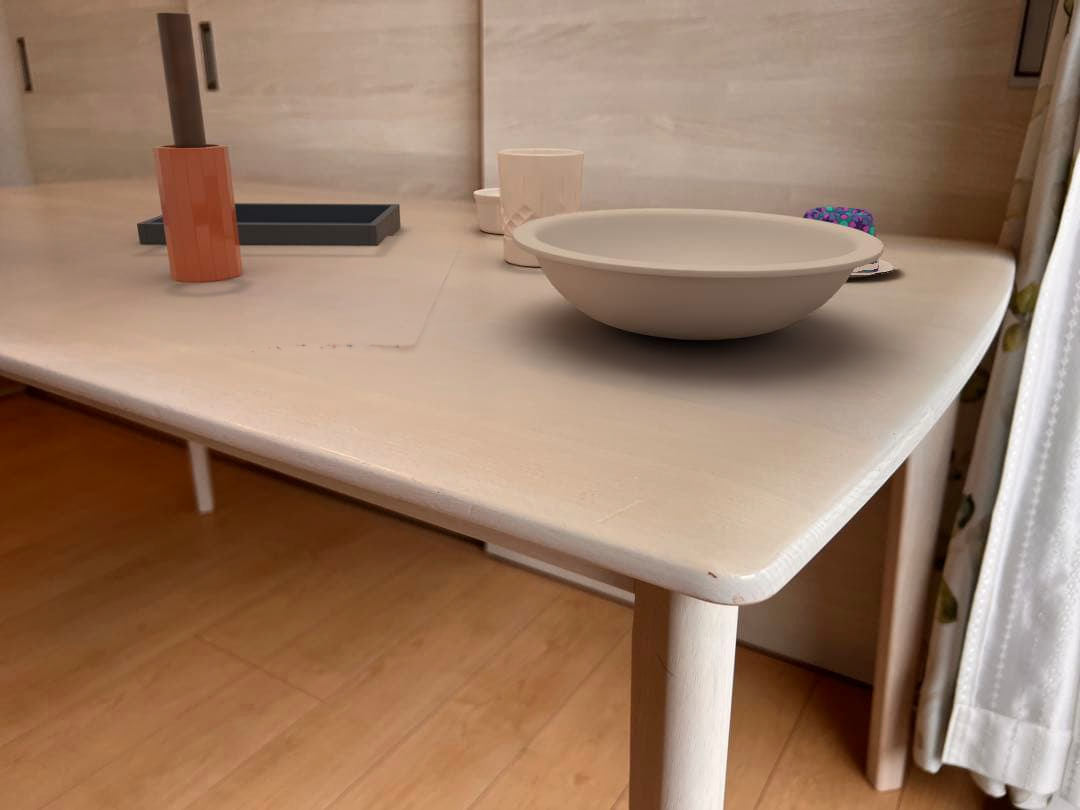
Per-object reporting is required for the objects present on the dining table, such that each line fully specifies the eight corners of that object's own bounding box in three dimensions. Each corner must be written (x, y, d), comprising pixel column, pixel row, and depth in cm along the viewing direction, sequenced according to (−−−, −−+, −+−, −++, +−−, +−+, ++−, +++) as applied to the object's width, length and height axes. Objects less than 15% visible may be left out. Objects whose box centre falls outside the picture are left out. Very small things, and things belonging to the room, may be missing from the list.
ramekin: (458, 228, 99) (457, 190, 97) (516, 221, 104) (516, 185, 103) (509, 239, 93) (509, 198, 91) (567, 230, 98) (568, 191, 97)
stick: (187, 277, 71) (150, 12, 64) (198, 271, 73) (163, 14, 66) (216, 277, 71) (182, 12, 64) (226, 271, 73) (194, 15, 66)
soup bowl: (663, 415, 44) (670, 288, 42) (452, 313, 63) (449, 222, 61) (948, 345, 56) (967, 244, 53) (699, 277, 75) (704, 200, 72)
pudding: (741, 259, 83) (746, 204, 81) (846, 253, 86) (853, 200, 84) (815, 286, 72) (823, 223, 70) (932, 277, 76) (942, 217, 74)
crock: (161, 289, 70) (140, 148, 66) (187, 274, 75) (169, 143, 71) (230, 289, 70) (213, 148, 66) (251, 274, 75) (237, 143, 71)
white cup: (484, 264, 80) (483, 152, 76) (518, 250, 87) (517, 147, 83) (564, 271, 77) (566, 156, 73) (592, 256, 84) (595, 150, 80)
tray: (140, 250, 85) (136, 223, 84) (198, 225, 100) (195, 202, 99) (377, 251, 86) (376, 225, 85) (400, 226, 100) (399, 204, 99)
